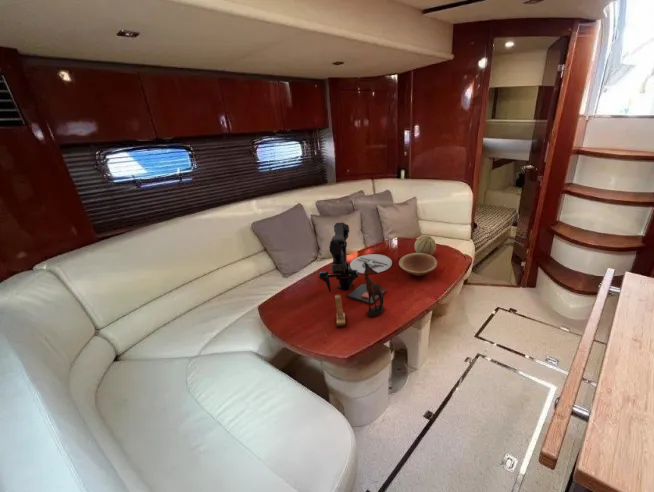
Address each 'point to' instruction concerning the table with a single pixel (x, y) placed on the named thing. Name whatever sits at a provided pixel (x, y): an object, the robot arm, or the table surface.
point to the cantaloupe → (425, 245)
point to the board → (360, 291)
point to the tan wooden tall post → (340, 312)
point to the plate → (371, 263)
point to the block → (365, 295)
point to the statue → (373, 292)
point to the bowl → (418, 263)
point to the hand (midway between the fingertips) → (339, 291)
